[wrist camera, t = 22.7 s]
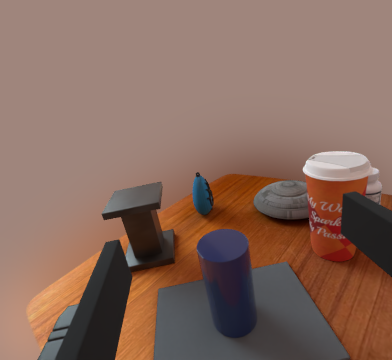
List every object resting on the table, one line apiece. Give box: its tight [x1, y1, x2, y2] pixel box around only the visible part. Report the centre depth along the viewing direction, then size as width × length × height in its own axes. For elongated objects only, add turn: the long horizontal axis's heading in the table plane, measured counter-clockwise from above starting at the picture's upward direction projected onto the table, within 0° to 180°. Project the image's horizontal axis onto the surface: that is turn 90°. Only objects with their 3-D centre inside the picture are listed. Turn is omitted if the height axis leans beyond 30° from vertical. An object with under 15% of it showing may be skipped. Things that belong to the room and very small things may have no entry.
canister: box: [197, 229, 257, 338], centre depth 28 cm, size 6×6×11 cm
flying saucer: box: [254, 180, 309, 219], centre depth 51 cm, size 15×15×6 cm
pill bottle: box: [365, 168, 382, 204], centre depth 43 cm, size 5×5×9 cm
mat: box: [154, 262, 350, 360], centre depth 30 cm, size 20×14×1 cm
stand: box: [102, 182, 175, 272], centre depth 43 cm, size 9×9×12 cm
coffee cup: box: [303, 151, 374, 262], centre depth 35 cm, size 8×8×15 cm
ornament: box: [193, 172, 213, 215], centre depth 54 cm, size 8×5×10 cm, turn 0°
